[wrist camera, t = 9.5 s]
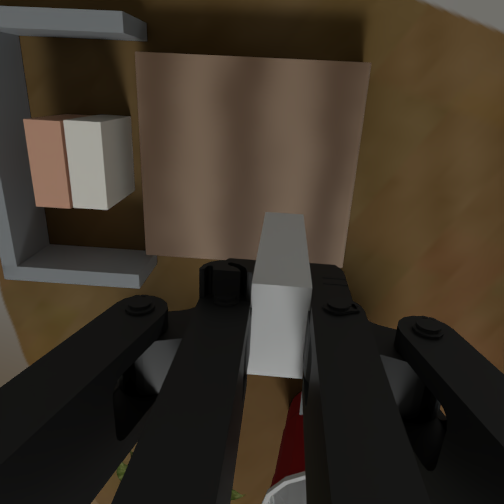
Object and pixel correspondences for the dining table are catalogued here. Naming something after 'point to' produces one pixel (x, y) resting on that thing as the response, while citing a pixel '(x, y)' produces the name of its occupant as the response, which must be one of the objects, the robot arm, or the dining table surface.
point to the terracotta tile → (49, 160)
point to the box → (18, 166)
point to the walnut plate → (247, 151)
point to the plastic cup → (290, 462)
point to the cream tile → (99, 160)
